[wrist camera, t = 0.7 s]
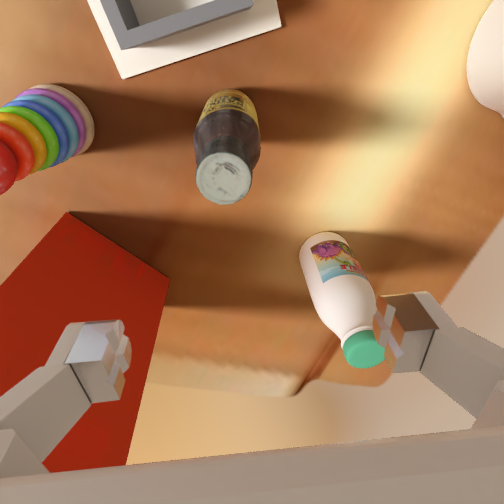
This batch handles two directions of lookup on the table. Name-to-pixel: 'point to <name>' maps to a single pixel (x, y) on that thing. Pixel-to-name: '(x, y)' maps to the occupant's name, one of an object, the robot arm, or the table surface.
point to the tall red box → (81, 310)
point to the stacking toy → (41, 131)
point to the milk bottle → (342, 296)
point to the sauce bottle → (226, 146)
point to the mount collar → (176, 28)
